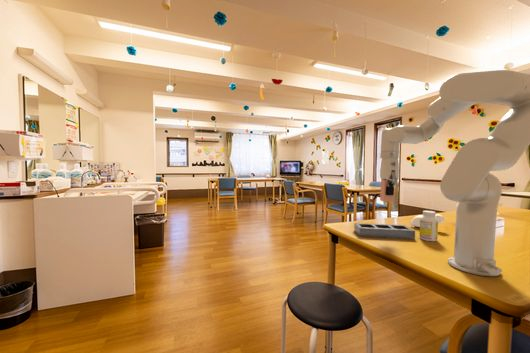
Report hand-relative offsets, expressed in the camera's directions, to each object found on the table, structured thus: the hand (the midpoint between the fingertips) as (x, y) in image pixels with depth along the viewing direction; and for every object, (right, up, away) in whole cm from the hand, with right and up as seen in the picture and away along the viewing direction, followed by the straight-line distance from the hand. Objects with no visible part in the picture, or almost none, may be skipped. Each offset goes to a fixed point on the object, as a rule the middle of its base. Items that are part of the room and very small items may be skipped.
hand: (387, 194), depth 105 cm
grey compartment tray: (0, -20, +3) cm, 20 cm away
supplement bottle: (+17, -21, -3) cm, 27 cm away
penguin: (+29, -20, +15) cm, 38 cm away
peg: (0, -3, 0) cm, 3 cm away
